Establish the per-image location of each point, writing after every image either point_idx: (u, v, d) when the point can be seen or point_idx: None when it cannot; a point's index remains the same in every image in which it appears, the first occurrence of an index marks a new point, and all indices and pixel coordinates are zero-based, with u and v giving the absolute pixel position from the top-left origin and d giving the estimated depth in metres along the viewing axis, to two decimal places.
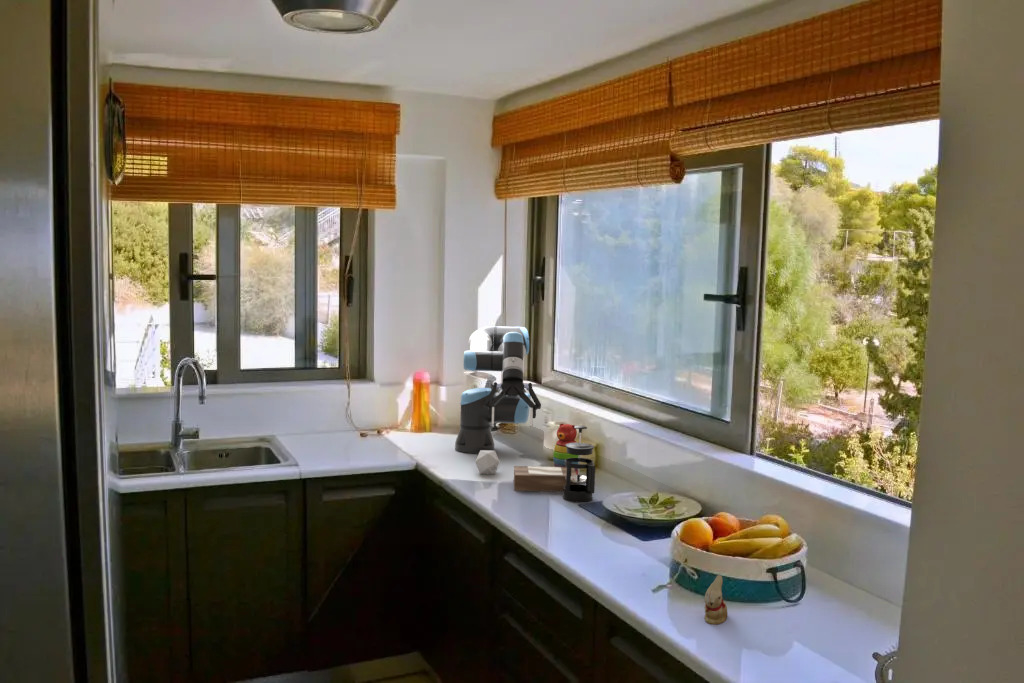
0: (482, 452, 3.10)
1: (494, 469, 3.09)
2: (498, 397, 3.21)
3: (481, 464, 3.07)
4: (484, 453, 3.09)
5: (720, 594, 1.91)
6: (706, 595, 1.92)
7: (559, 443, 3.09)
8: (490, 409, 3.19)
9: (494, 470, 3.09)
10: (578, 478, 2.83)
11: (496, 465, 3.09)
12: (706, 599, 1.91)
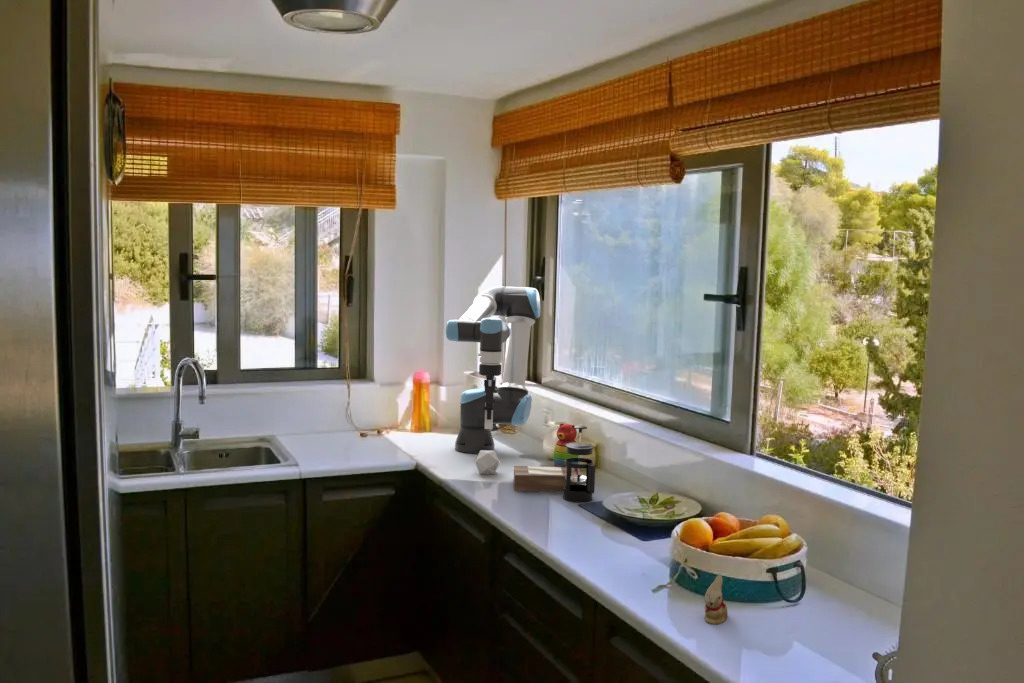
0: (482, 452, 3.10)
1: (494, 469, 3.09)
2: None
3: (481, 464, 3.07)
4: (484, 453, 3.09)
5: (720, 594, 1.91)
6: (706, 595, 1.92)
7: (559, 443, 3.09)
8: None
9: (494, 470, 3.09)
10: (578, 478, 2.83)
11: (496, 465, 3.09)
12: (706, 599, 1.91)
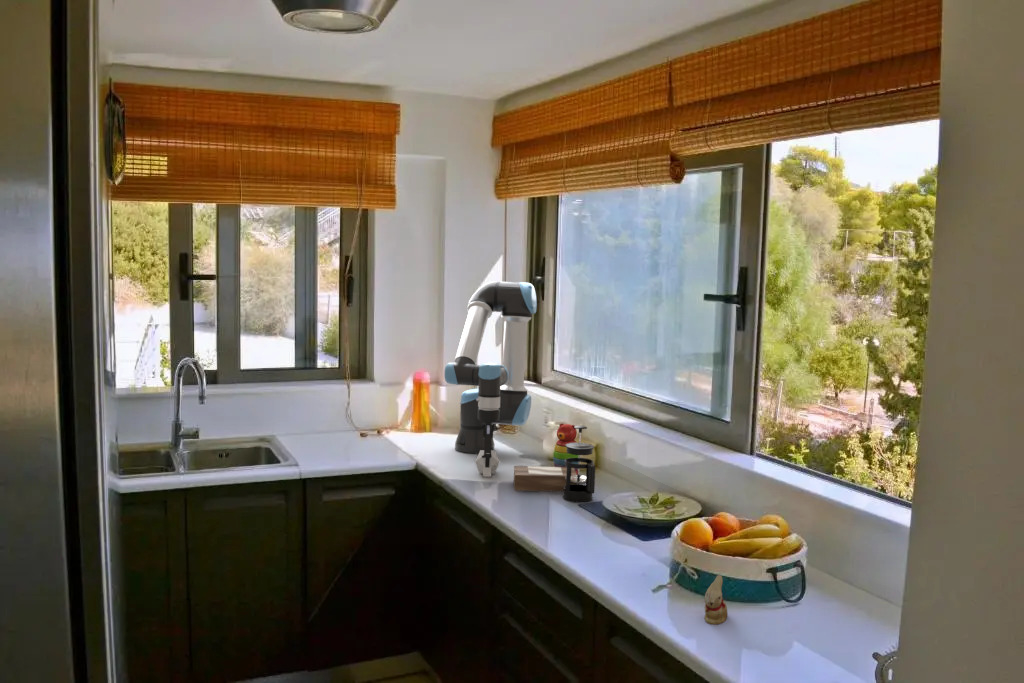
0: (482, 452, 3.10)
1: (494, 469, 3.09)
2: None
3: (481, 464, 3.07)
4: None
5: (720, 594, 1.91)
6: (706, 595, 1.92)
7: (559, 443, 3.09)
8: None
9: (494, 470, 3.09)
10: (578, 478, 2.83)
11: (496, 465, 3.09)
12: (706, 599, 1.91)
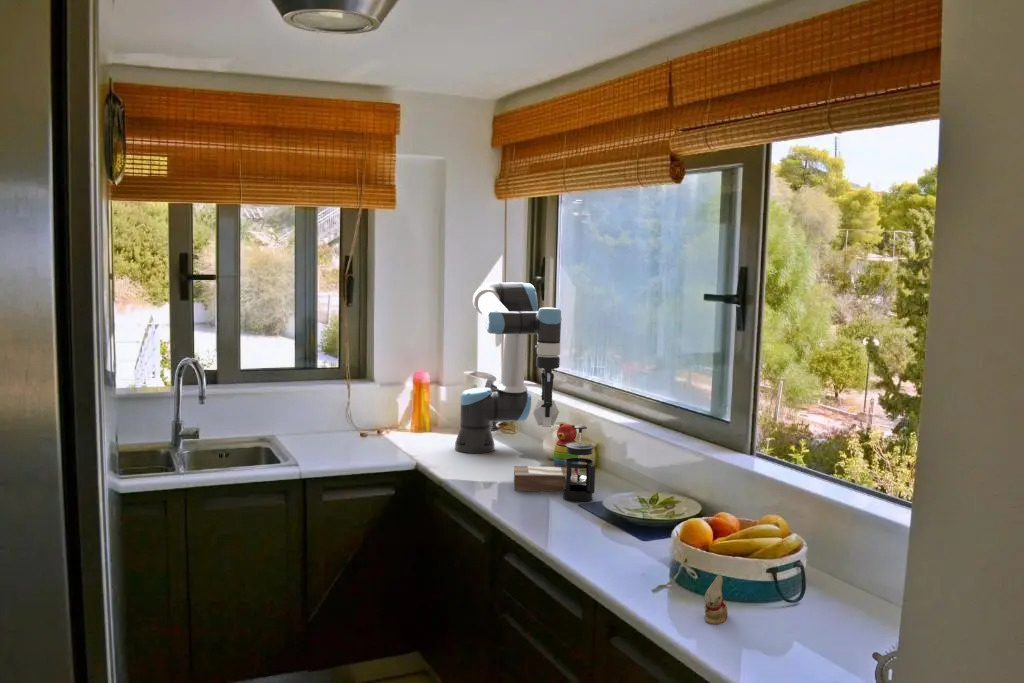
0: (540, 402, 2.93)
1: (554, 420, 2.92)
2: (542, 388, 2.98)
3: (540, 414, 2.91)
4: (543, 403, 2.92)
5: (720, 594, 1.91)
6: (706, 595, 1.92)
7: (559, 443, 3.09)
8: None
9: (553, 421, 2.92)
10: (578, 478, 2.83)
11: (556, 415, 2.92)
12: (706, 599, 1.91)
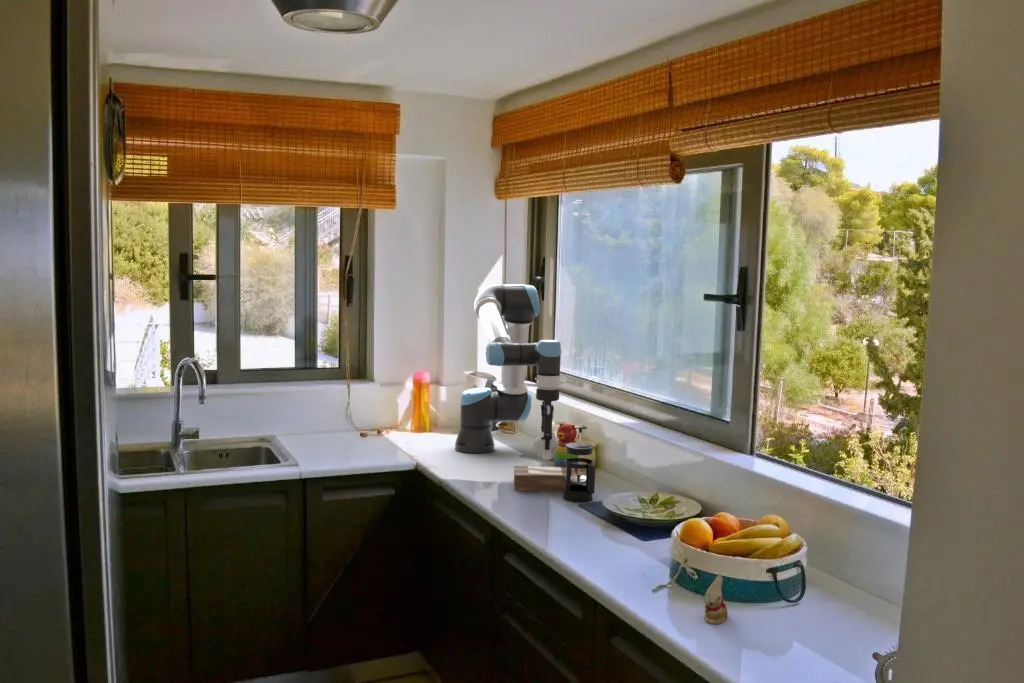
0: (540, 434, 2.94)
1: (553, 452, 2.93)
2: (542, 420, 2.99)
3: (540, 446, 2.92)
4: (543, 435, 2.93)
5: (720, 594, 1.91)
6: (706, 595, 1.92)
7: (559, 443, 3.09)
8: None
9: (553, 453, 2.93)
10: (578, 478, 2.83)
11: (555, 447, 2.93)
12: (706, 599, 1.91)
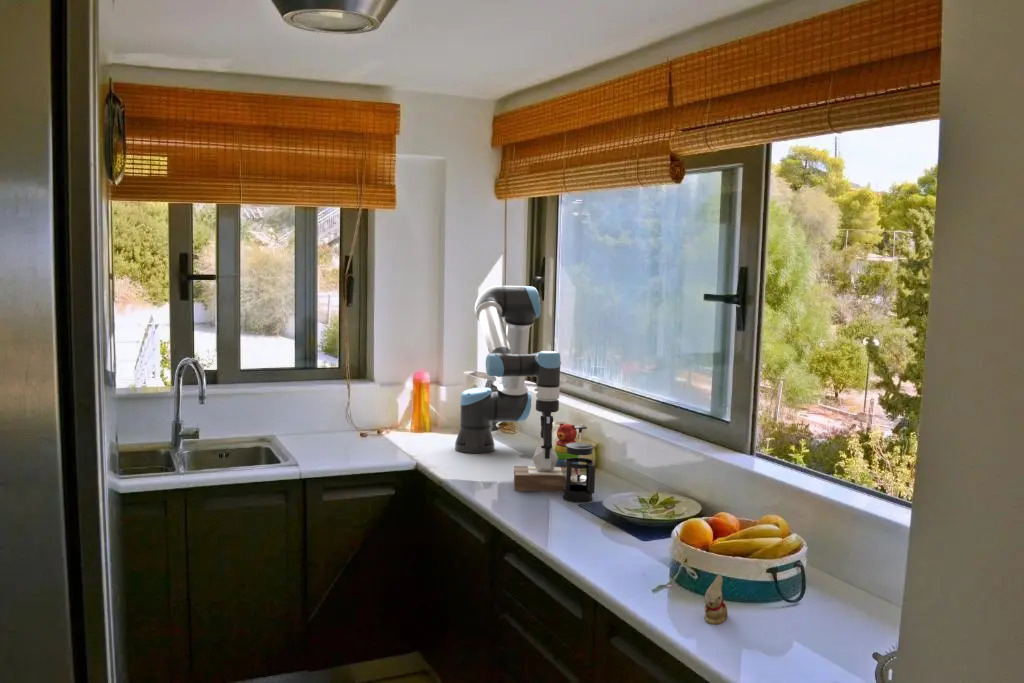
0: (539, 448, 2.95)
1: (553, 466, 2.94)
2: None
3: (540, 461, 2.93)
4: (542, 449, 2.94)
5: (720, 594, 1.91)
6: (706, 595, 1.92)
7: (559, 443, 3.09)
8: None
9: (552, 467, 2.94)
10: (578, 478, 2.83)
11: (555, 462, 2.94)
12: (706, 599, 1.91)
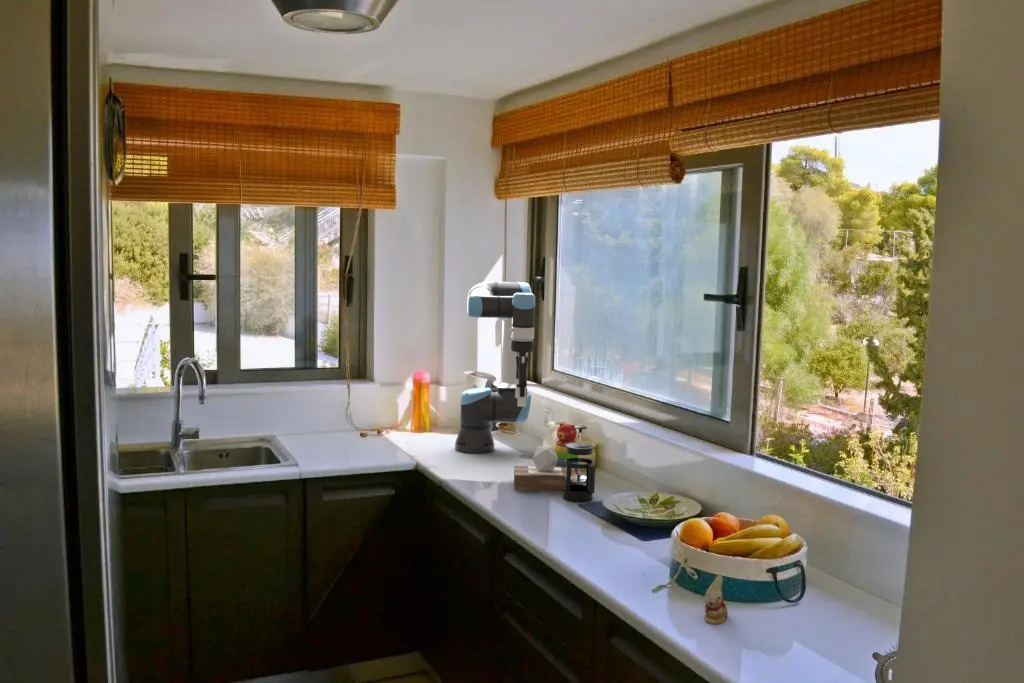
0: (539, 448, 2.95)
1: (553, 466, 2.94)
2: (517, 369, 3.07)
3: (540, 461, 2.93)
4: (542, 449, 2.94)
5: (720, 594, 1.91)
6: (706, 595, 1.92)
7: (559, 443, 3.09)
8: None
9: (552, 467, 2.94)
10: (578, 478, 2.83)
11: (555, 462, 2.94)
12: (706, 599, 1.91)
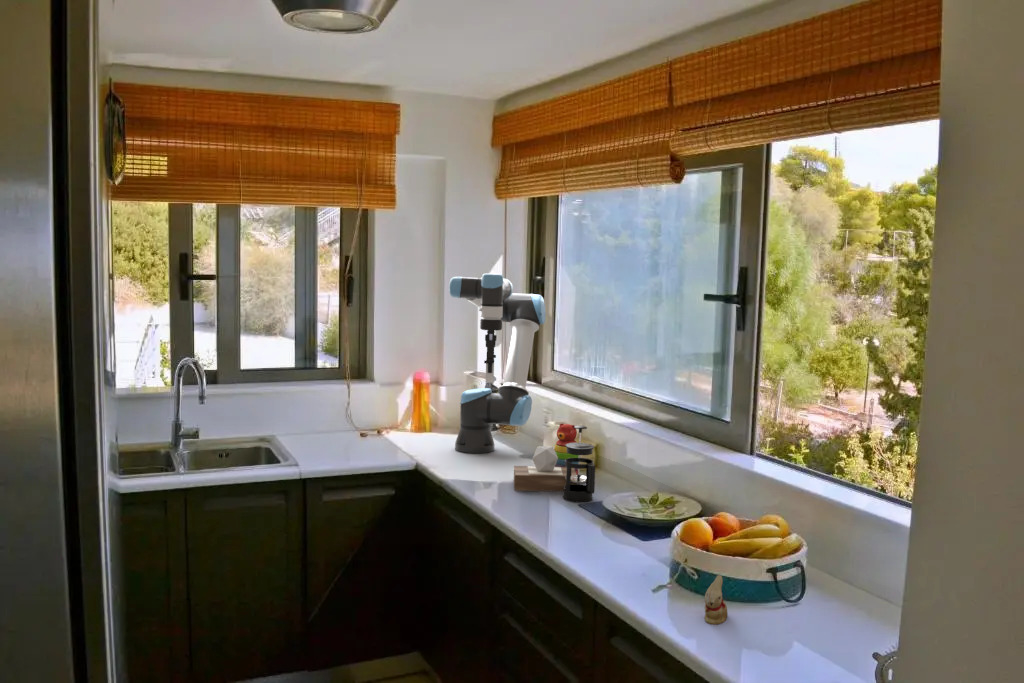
0: (539, 448, 2.95)
1: (553, 466, 2.94)
2: None
3: (540, 461, 2.93)
4: (542, 449, 2.94)
5: (720, 594, 1.91)
6: (706, 595, 1.92)
7: (559, 443, 3.09)
8: None
9: (552, 467, 2.94)
10: (578, 478, 2.83)
11: (555, 462, 2.94)
12: (706, 599, 1.91)
